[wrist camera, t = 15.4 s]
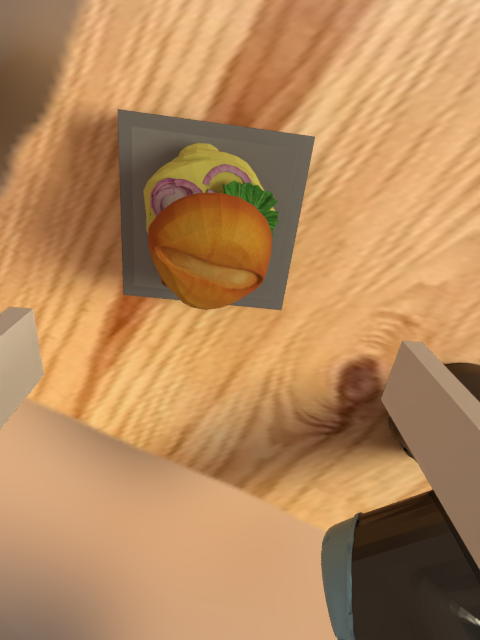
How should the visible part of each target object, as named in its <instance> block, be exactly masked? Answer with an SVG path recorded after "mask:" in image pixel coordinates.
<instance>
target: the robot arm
mask: <svg viewBox="0 0 480 640" xmlns="http://www.w3.org/2000/svg"><path fill="white" fill-rule="evenodd" d="M43 376H44V371H43V365H42V359H41V353H40V347H39V341H38V336H37V330H36V324H35V318H34V312H33V309H29V308H18V307H9V308H7V309H6V310H5V311H3V312H2V313H1V314H0V429H1V428H2V427H3V425H4V424H5V423H6V422H7V421H8V419H9V418H10V417H11V416H12V414H13V413H14V412H15V411H16V409H17V408H18V407H19V406H20V404H21V403H22V402H23V401H24V399H25V398H26V397H27V396H28V394H29V393H30V392H31V391H32V389H33V388H34V387H35V386H36V384H37V383H38V382H39V381H40V379H41V378H42V377H43ZM381 401H382V403H383V404H384V406H385V408H386V409H387V411H388V413H389V427H390V430H391V432H392V434H393V436H394V438H395V439H396V441H397V443H398V445H399V446H400V447H401V449H402V450H403V451H404V452H405V453H406V454H407V455H409V456H410V457H411V458H413V459H414V460H415V461H416V462H417V463H418V464H419V466H420V468H421V470H422V471H423V473H424V475H425V476H426V478H427V480H428V482H429V483H430V485H431V487H432V488H433V490H431V491H428V492H425V493H422V494H419V495H416V496H413V497H410V498H407V499H405V500H402V501H399V502H396V503H393V504H390V505H387V506H384V507H381V508H378V509H375V510H372V511H369V512H366V513H362V512H360V513H357V514H356V515H355V516H354V517H353V518H350V519H348V520H345V521H343V522H340V523H338V524H336V525H333V526H332V527H330V528H329V529H328V531H327V532H326V534H325V536H324V539H323V542H322V551H321V566H322V577H323V585H324V592H325V598H326V602H327V607H328V612H329V617H330V620H331V625H332V628H333V631H334V634H335V636H336V637H337V639H338V640H480V365H476V364H469V363H458V364H450V365H445V366H444V365H443V363H442V362H441V361H440V360H439V359H438V358H437V357H436V356H435V355H434V354H433V353H432V352H431V351H430V350H429V349H428V348H427V347H426V346H425V345H424V344H423V343H422V342H414V341H402V343H401V345H400V348H399V351H398V354H397V356H396V359H395V362H394V365H393V367H392V370H391V373H390V376H389V379H388V381H387V384H386V387H385V390H384V392H383V395H382V398H381Z"/></svg>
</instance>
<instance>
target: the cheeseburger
mask: <svg viewBox="0 0 480 640" xmlns="http://www.w3.org/2000/svg"><path fill="white" fill-rule="evenodd" d="M143 192H144V200H145V209H146V230H147V233H148V247H149V251H150V254H151V257H152V261H153V263H154V265H155V267H156V269H157V271H158V273H159V275H160V276H161V283H162V284H163V285H164V286H166V287H168V288H169V289H170V290H171V291H172V292H173V293H174V294H176V295H177V297H178V298H179V299H180V300H181V301H182V302H183V303H185V304H187V305H189V306H191V307H193V308H199V309H205V310H208V309H216V308H221V307H224V306H227V305H230V304H232V303H234V302H236V301H238V300H240V299H241V298H243V297H245V296H246V295H248V294H250V293H251V292H253V291H254V290H255V289H257V288H258V287H259V286H260V285H261V283H262V282H263V280H264V278H265V276H266V273H267V269H268V265H269V261H270V257H271V249H272V236H273V229H274V228H275V227H276V225H277V224H278V214H279V212H277V211H275V210H274V208H273V206H274V205H275V204H276V203H277V202H278V200H275V198H274V196H273V194H272V192H269V191H264V189H263V187H262V186H261V183H260V182H259V180H258V178H257V176H256V174H255V173H254V171H253V170H252V169H251V167H250V166H249V164H248V163H247V162H245V161H244V160H242V159H240V158H239V157H237V156H235V155H232V154H229V153H226V152H223V151H218V149H217V148H216V147H214V146H213V145H211V144H206V143H195V144H192V145H190V146H186V147H185V148H184V149H183V150H182V151H180V153H179V156H178V157H176V158H175V159H173V160H172V161H171V162H169V163H167V164H166V165H164V166H163V167H161V168H160V169H159V170H158V171H157V172H156V173H155V174H154V175H153V176H152V177H151V178H150V179H149V180H148V181H147V184H146V186H145V188H144V191H143Z"/></svg>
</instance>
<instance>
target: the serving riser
mask: <svg viewBox="0 0 480 640" xmlns="http://www.w3.org/2000/svg"><path fill="white" fill-rule="evenodd" d="M118 135H119V167H120V199H121V231H122V263H123V295H133V296H143V297H153V298H163V299H174V300H180V299H179V298H178V297H177V295H176V294H174V293H173V292H172V291H171V290H170V289H169V288H168V287H166V286H164V285H163V284H162V283H161V276H160V275H159V273H158V271H157V269H156V267H155V265H154V263H153V261H152V257H151V254H150V251H149V247H148V233H147V230H146V209H145V200H144V192H143V191H144V188H145V186H146V184H147V181H148V180H149V179H150V178H151V177H152V176H153V175H154V174H155V173H156V172H157V171H158V170H159V169H160V168H161V167H163V166H164V165H166V164H167V163H169V162H171V161H172V160H173V159H175V158H176V157H178V156H179V153H180V151H182V150H183V149H184V148H185V147H186V146H190V145H192V144H195V143H206V144H211V145H213V146H214V147H216V148H217V149H218V151H223V152H226V153H229V154H232V155H235V156H237V157H239V158H240V159H242V160H244V161H245V162H247V163H248V164H249V166H250V167H251V169H252V170H253V171H254V173H255V174H256V176H257V178H258V180H259V182H260V183H261V186H262V187H263V189H264V191H269V192H272V194H273V196H274V198H275V200H278V202H277V203H276V204H275V205H274V206H273V208H274V210H275V211H277V212H279V214H278V224H277V225H276V227H275V228H274V229H273V236H272V249H271V257H270V261H269V265H268V269H267V273H266V276H265V278H264V280H263V282H262V283H261V285H260V286H259V287H258V288H257V289H255V290H254V291H253V292H251V293H250V294H248V295H246V296H245V297H243V298H241V299H240V300H238V301H236V302H234V303H232V304H230V305H235V306H245V307H255V308H265V309H275V310H281V309H282V304H283V299H284V294H285V289H286V284H287V279H288V273H289V268H290V263H291V258H292V253H293V248H294V242H295V237H296V232H297V227H298V222H299V217H300V211H301V206H302V201H303V196H304V191H305V186H306V181H307V175H308V170H309V165H310V160H311V155H312V150H313V144H314V139H315V137H313V136H306V135H299V134H291V133H284V132H277V131H270V130H263V129H256V128H248V127H241V126H234V125H227V124H220V123H213V122H205V121H198V120H191V119H184V118H177V117H170V116H162V115H155V114H148V113H141V112H134V111H127V110H119V109H118Z"/></svg>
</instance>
